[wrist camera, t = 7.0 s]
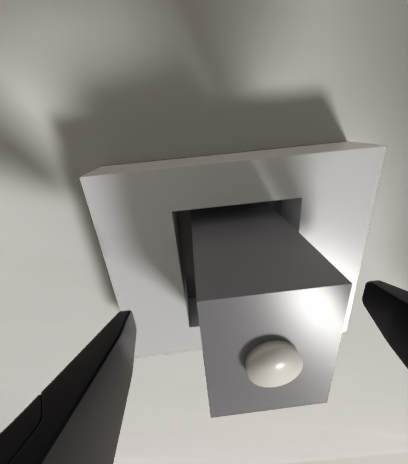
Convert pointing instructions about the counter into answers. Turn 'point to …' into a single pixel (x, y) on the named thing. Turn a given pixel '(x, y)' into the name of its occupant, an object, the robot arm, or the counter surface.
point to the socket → (217, 195)
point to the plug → (264, 310)
